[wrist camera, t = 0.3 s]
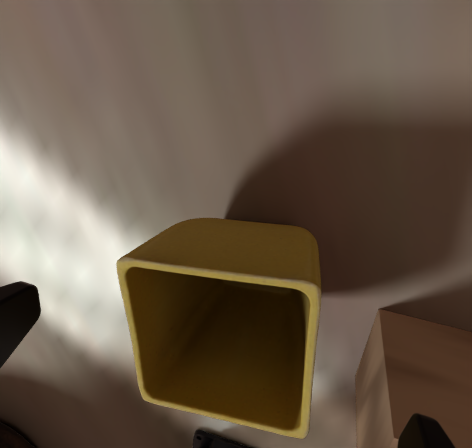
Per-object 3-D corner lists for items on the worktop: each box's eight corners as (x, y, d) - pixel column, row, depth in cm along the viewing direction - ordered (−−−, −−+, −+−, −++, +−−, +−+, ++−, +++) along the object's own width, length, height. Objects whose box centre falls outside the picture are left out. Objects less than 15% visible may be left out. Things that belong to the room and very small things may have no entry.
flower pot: (320, 322, 25) (307, 445, 17) (200, 302, 27) (139, 403, 19) (332, 200, 21) (322, 285, 13) (192, 190, 23) (112, 256, 15)
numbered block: (443, 406, 25) (488, 569, 17) (353, 380, 26) (355, 520, 18) (481, 334, 22) (556, 489, 14) (378, 308, 23) (393, 437, 15)
